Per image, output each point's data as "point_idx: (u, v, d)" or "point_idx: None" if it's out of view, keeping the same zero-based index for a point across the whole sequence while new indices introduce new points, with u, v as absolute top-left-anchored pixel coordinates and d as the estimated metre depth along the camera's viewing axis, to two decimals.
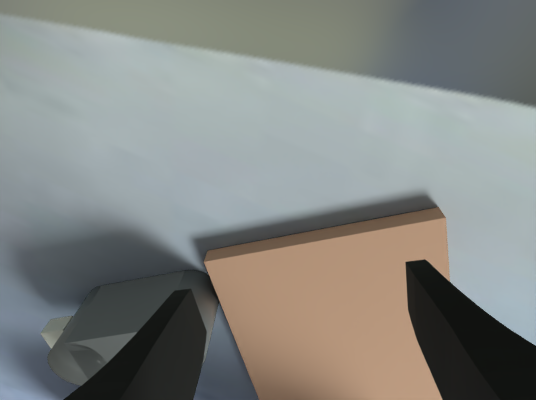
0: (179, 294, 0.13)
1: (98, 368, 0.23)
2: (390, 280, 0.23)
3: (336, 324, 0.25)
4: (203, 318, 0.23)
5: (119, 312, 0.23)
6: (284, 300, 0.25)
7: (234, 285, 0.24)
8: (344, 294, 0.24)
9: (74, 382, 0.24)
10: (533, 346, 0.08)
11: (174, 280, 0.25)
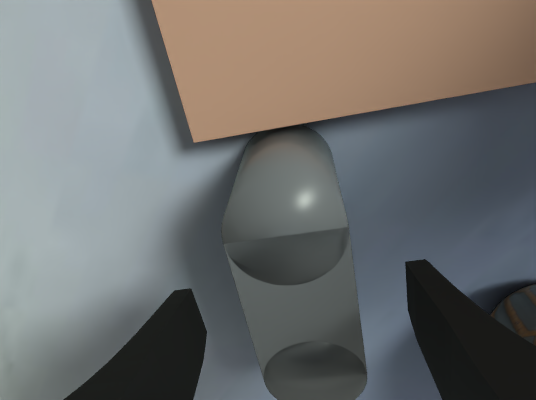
0: (179, 294, 0.13)
1: (324, 356, 0.13)
2: None
3: None
4: (254, 164, 0.12)
5: None
6: None
7: (244, 95, 0.13)
8: None
9: (356, 393, 0.14)
10: (533, 346, 0.08)
11: None
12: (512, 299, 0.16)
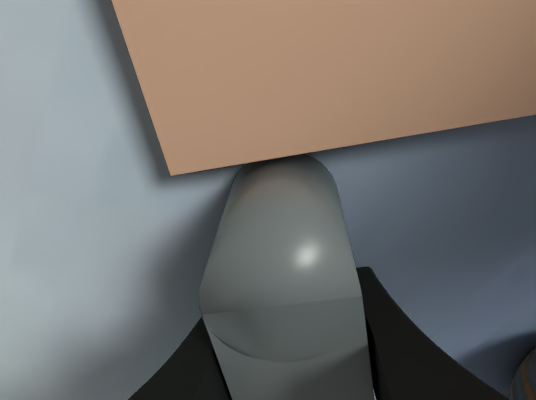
0: None
1: None
2: None
3: None
4: (241, 211, 0.09)
5: None
6: None
7: (230, 120, 0.11)
8: None
9: None
10: (443, 354, 0.08)
11: None
12: None
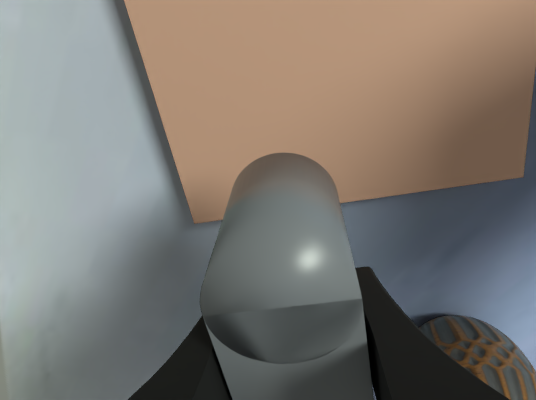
0: None
1: None
2: None
3: (299, 63, 0.16)
4: (242, 214, 0.09)
5: None
6: (252, 137, 0.18)
7: (228, 195, 0.20)
8: (240, 51, 0.16)
9: None
10: (443, 354, 0.08)
11: None
12: (421, 328, 0.23)
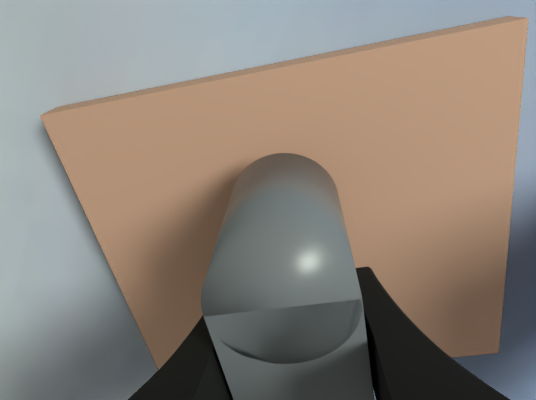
0: None
1: None
2: (168, 185, 0.15)
3: None
4: (243, 214, 0.09)
5: None
6: None
7: None
8: (202, 245, 0.16)
9: None
10: (443, 354, 0.08)
11: None
12: None
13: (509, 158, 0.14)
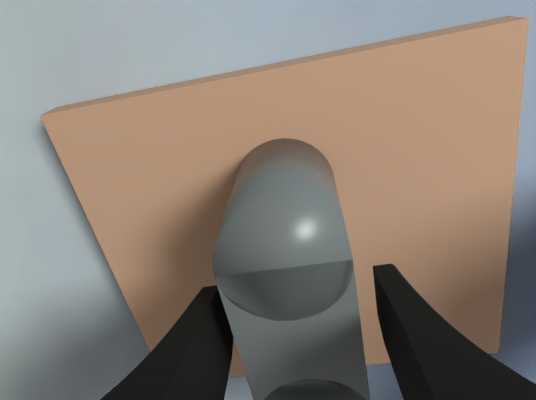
0: (208, 291, 0.13)
1: (325, 394, 0.12)
2: (168, 185, 0.15)
3: None
4: (248, 188, 0.11)
5: None
6: None
7: None
8: (201, 245, 0.16)
9: None
10: (480, 351, 0.08)
11: None
12: None
13: (509, 158, 0.14)
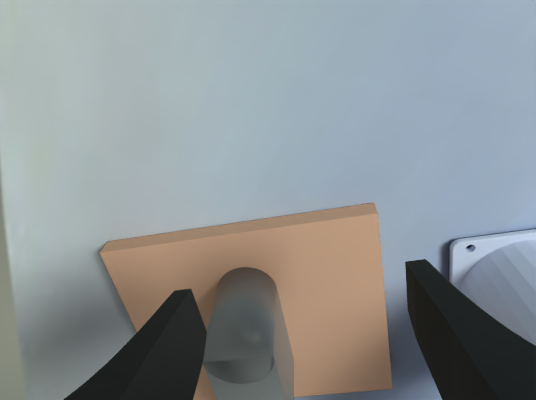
0: (179, 294, 0.13)
1: None
2: None
3: None
4: (220, 312, 0.20)
5: None
6: None
7: None
8: None
9: None
10: (533, 346, 0.08)
11: None
12: None
13: (380, 279, 0.23)
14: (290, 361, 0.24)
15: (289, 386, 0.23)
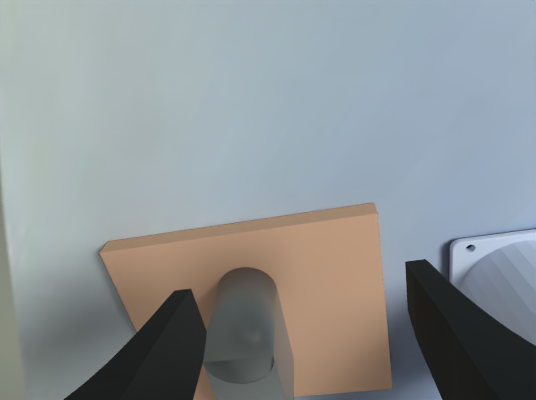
0: (179, 294, 0.13)
1: None
2: None
3: None
4: (220, 312, 0.20)
5: None
6: None
7: None
8: None
9: None
10: (533, 346, 0.08)
11: None
12: None
13: (380, 279, 0.23)
14: (290, 361, 0.24)
15: (289, 386, 0.23)
